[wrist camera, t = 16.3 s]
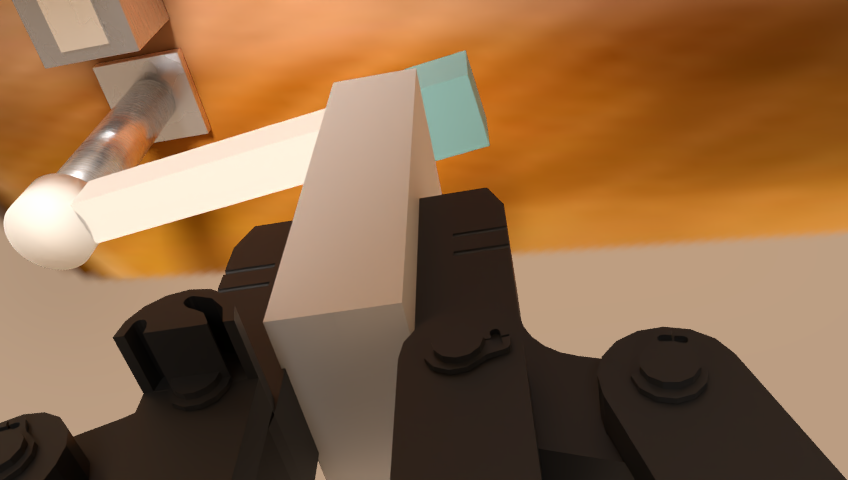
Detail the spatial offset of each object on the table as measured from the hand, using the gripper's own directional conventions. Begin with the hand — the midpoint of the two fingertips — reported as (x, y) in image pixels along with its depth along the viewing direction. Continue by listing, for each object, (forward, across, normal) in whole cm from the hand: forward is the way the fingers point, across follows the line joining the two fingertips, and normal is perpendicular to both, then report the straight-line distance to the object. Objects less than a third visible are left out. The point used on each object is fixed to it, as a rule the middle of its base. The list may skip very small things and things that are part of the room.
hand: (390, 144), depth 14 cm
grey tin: (+36, -21, -3) cm, 42 cm away
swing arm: (+22, -11, -10) cm, 26 cm away
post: (+36, -21, -11) cm, 43 cm away
